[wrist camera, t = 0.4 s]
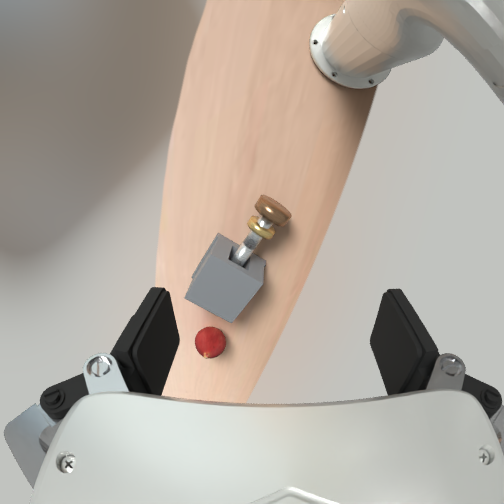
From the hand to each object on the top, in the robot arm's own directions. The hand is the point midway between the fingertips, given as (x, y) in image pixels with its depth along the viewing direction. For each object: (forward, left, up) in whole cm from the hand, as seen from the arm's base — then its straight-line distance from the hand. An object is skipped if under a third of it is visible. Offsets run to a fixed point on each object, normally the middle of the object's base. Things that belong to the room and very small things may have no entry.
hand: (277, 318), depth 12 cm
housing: (+17, +2, -31) cm, 36 cm away
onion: (+31, +7, -32) cm, 45 cm away
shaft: (+9, +2, -30) cm, 31 cm away
